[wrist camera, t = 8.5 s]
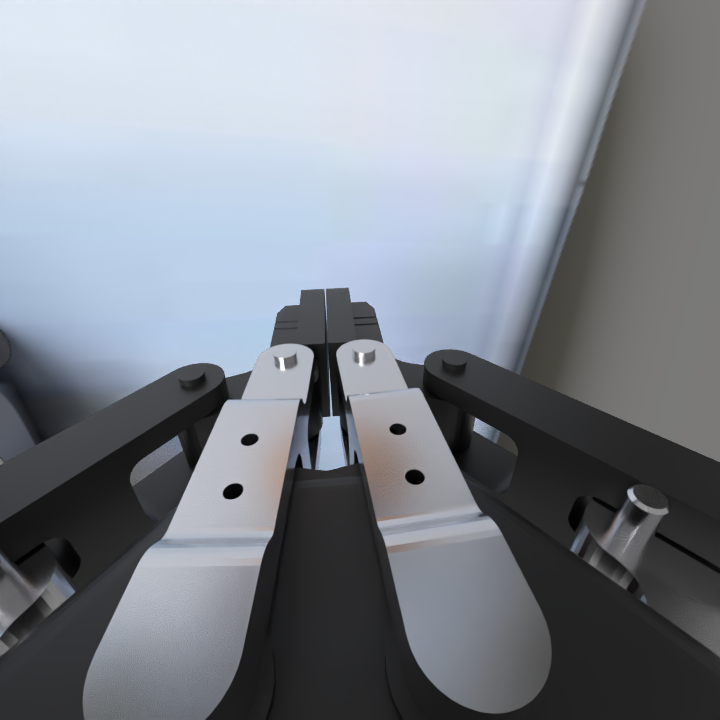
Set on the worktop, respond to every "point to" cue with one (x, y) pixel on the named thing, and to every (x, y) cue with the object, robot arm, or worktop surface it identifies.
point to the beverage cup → (4, 349)
